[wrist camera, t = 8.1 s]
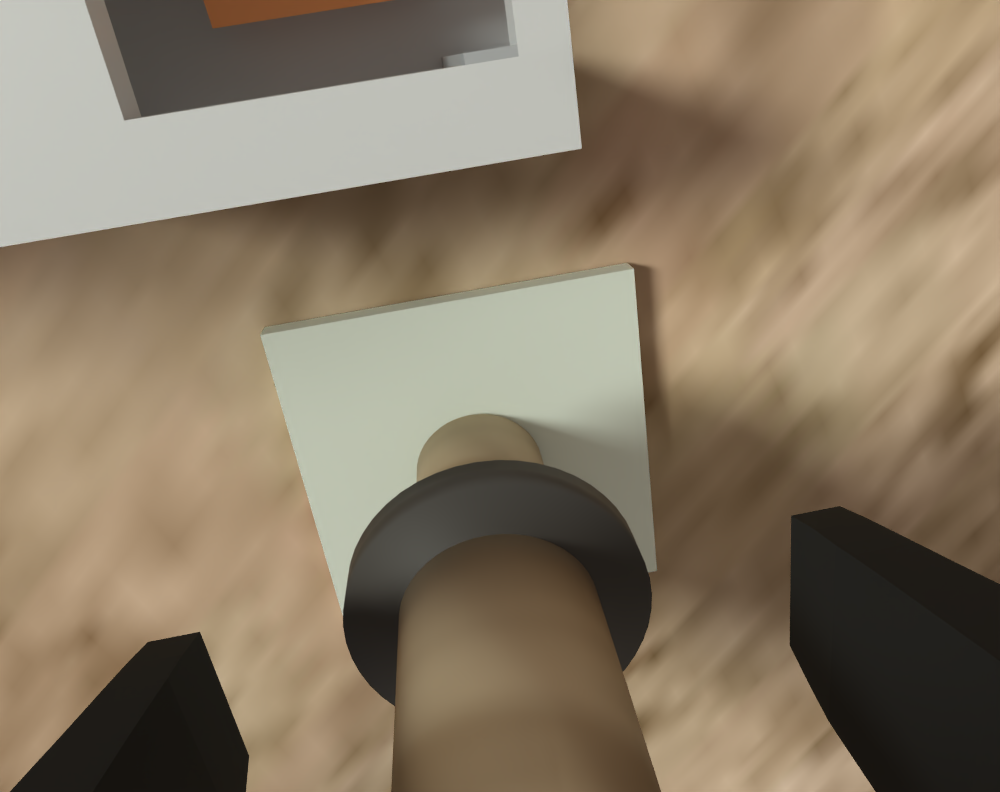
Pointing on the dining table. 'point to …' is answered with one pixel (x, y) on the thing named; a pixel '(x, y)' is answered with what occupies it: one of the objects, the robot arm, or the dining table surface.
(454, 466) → the stylus
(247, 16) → the plate
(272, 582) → the dining table surface
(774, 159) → the dining table surface
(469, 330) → the rest pad
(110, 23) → the box
